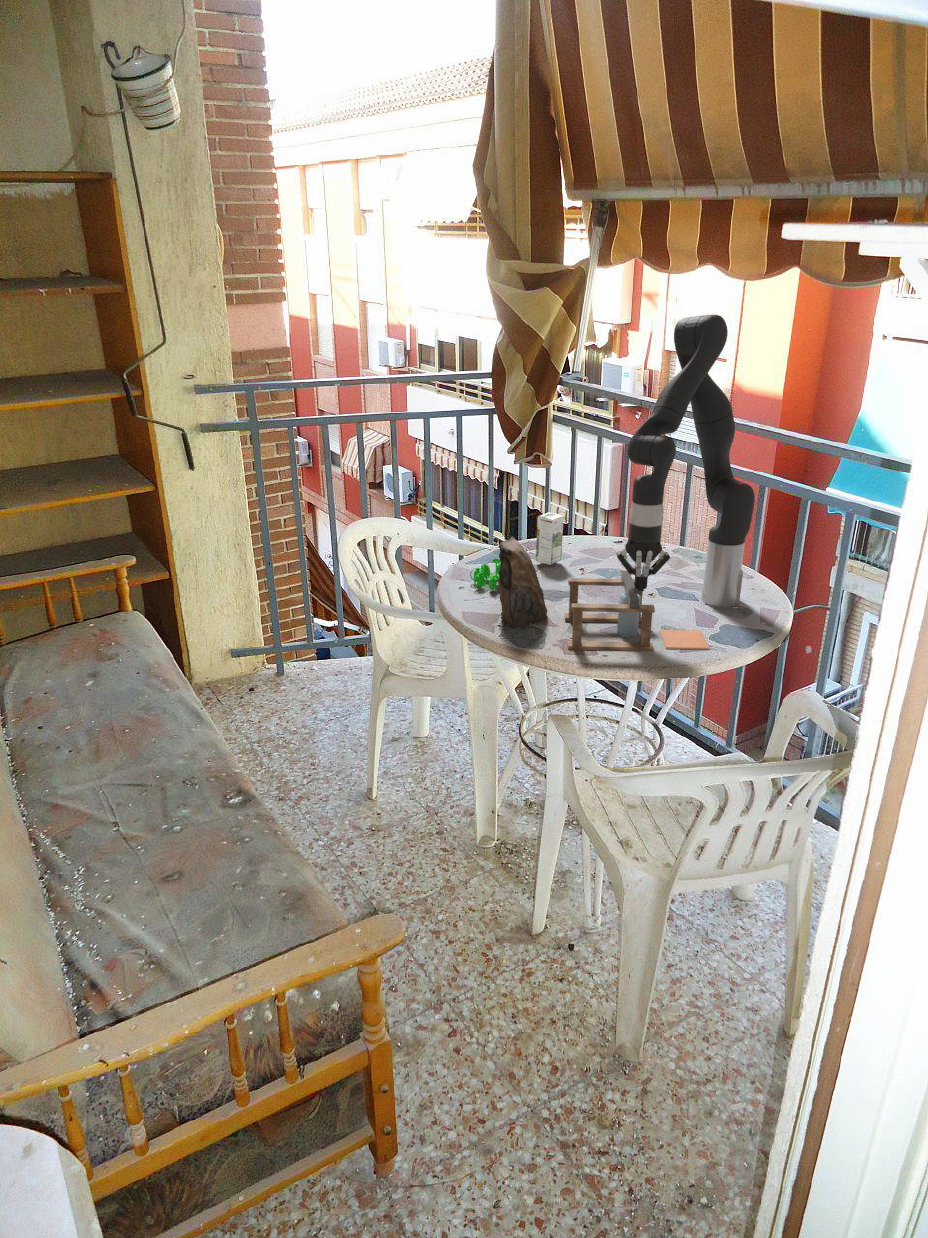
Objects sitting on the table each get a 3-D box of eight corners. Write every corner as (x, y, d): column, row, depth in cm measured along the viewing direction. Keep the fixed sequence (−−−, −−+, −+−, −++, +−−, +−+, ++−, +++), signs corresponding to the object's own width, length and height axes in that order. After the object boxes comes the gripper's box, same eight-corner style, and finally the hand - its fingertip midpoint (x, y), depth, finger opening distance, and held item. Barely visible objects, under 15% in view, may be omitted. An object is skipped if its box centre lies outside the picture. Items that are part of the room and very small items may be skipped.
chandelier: (525, 575, 249) (526, 553, 246) (518, 594, 235) (518, 570, 232) (475, 572, 252) (475, 550, 249) (465, 590, 238) (464, 567, 235)
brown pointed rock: (513, 631, 212) (514, 554, 204) (480, 615, 221) (480, 542, 213) (549, 618, 219) (552, 544, 211) (517, 604, 228) (518, 532, 220)
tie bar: (629, 578, 214) (629, 570, 213) (638, 607, 196) (639, 599, 196) (621, 578, 214) (621, 570, 214) (629, 607, 197) (630, 599, 196)
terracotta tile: (700, 633, 209) (701, 630, 209) (708, 651, 200) (709, 647, 200) (659, 632, 210) (659, 629, 210) (665, 650, 201) (666, 647, 201)
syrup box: (546, 556, 263) (547, 511, 257) (562, 560, 260) (563, 514, 254) (535, 561, 259) (536, 515, 253) (551, 565, 256) (553, 519, 250)
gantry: (642, 618, 219) (646, 578, 214) (653, 651, 200) (657, 609, 196) (564, 616, 220) (566, 577, 216) (568, 649, 202) (570, 607, 197)
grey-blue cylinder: (636, 629, 212) (639, 592, 208) (638, 638, 207) (642, 600, 203) (616, 629, 212) (618, 592, 208) (618, 637, 208) (620, 599, 204)
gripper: (672, 516, 201) (665, 585, 208) (615, 515, 202) (610, 584, 209) (677, 525, 194) (670, 596, 201) (618, 525, 195) (613, 595, 202)
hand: (640, 590), depth 205 cm, fingers closed
